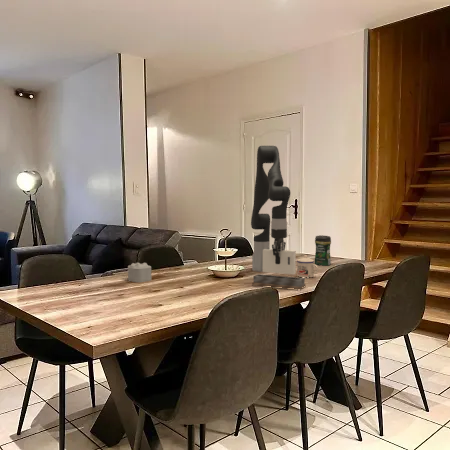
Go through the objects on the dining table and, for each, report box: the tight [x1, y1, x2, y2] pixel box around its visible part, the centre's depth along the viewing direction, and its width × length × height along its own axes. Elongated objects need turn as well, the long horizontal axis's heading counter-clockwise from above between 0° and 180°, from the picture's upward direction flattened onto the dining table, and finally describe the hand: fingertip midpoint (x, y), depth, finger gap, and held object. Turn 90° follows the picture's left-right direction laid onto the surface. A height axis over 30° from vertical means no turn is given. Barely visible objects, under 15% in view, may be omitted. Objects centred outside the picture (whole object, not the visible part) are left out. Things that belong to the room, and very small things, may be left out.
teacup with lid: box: [296, 254, 319, 278], centre depth 240 cm, size 12×9×12 cm
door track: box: [251, 273, 306, 289], centre depth 218 cm, size 24×9×4 cm, turn 63°
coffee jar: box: [314, 234, 332, 267], centre depth 280 cm, size 10×8×19 cm
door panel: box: [262, 249, 297, 275], centre depth 217 cm, size 16×3×11 cm, turn 63°
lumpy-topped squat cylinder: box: [127, 262, 152, 283], centre depth 235 cm, size 10×13×9 cm
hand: (278, 263), depth 217 cm, fingers closed on door panel, 2 cm apart
